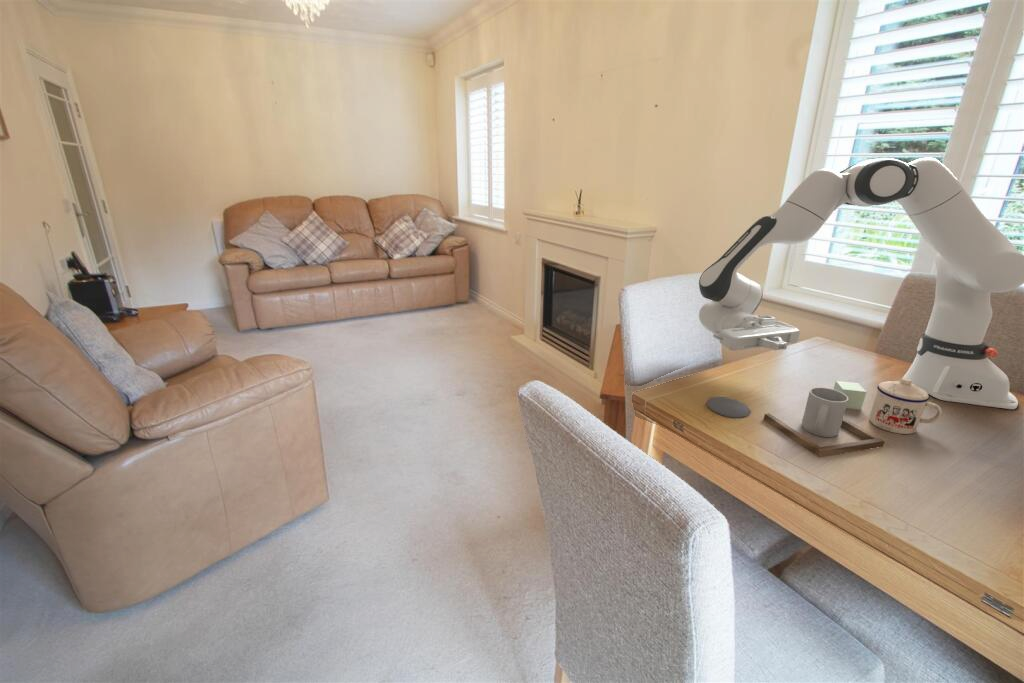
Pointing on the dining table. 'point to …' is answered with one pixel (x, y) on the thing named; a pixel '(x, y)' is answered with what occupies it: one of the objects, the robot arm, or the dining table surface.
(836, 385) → the sage box
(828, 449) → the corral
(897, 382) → the teacup with lid
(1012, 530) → the dining table surface
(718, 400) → the slate coaster
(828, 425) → the cup
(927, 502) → the dining table surface
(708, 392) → the dining table surface
